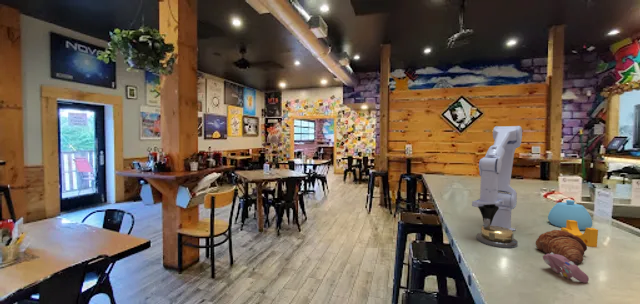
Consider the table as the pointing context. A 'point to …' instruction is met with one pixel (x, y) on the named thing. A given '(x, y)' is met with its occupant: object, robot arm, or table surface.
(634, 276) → the table surface
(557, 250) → the pastry
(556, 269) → the video game controller
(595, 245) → the pipe clamp
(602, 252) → the table surface
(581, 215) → the sugar bowl
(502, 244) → the base plate
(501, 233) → the round lid with handle
